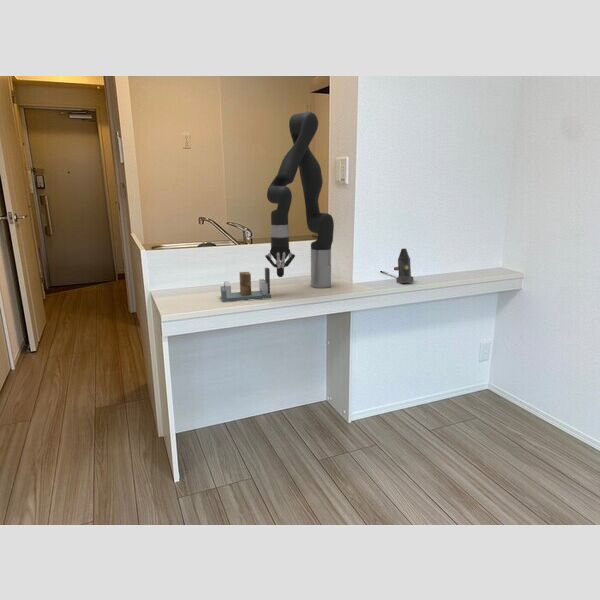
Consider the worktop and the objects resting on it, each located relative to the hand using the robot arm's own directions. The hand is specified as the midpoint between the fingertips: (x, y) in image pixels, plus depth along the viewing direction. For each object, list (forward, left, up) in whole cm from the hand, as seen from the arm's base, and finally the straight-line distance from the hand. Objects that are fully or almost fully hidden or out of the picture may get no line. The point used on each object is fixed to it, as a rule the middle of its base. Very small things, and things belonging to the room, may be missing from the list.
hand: (280, 276), depth 197 cm
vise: (+14, +5, -8) cm, 17 cm away
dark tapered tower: (-51, -39, -9) cm, 65 cm away
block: (+14, +5, -7) cm, 16 cm away
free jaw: (+6, +2, -6) cm, 9 cm away
